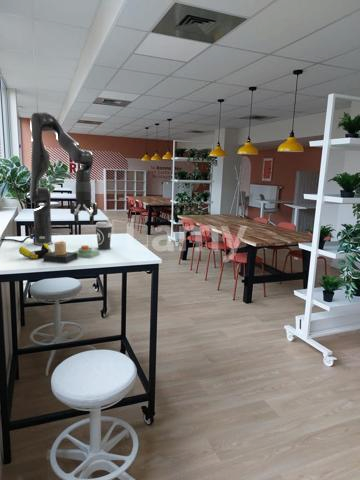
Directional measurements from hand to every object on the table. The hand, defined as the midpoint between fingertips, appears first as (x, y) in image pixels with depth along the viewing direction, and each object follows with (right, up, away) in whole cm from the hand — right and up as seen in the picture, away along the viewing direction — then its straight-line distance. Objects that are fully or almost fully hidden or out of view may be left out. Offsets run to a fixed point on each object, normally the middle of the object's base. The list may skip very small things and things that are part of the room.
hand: (84, 222), depth 173 cm
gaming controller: (-23, -17, -3) cm, 29 cm away
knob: (-9, -15, -8) cm, 20 cm away
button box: (0, -17, +3) cm, 17 cm away
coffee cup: (+6, -14, +20) cm, 25 cm away
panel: (-9, -18, -8) cm, 22 cm away
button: (0, -14, +3) cm, 14 cm away
